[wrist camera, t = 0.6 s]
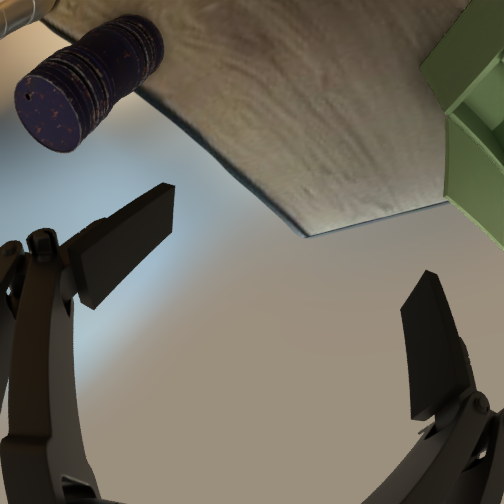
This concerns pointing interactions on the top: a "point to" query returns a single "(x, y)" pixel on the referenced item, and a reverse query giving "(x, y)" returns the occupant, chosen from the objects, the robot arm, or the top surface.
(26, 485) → the robot arm
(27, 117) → the dark purple cylinder
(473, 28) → the carton
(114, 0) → the top surface
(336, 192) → the top surface
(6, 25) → the silver metal bottle
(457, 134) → the flap
